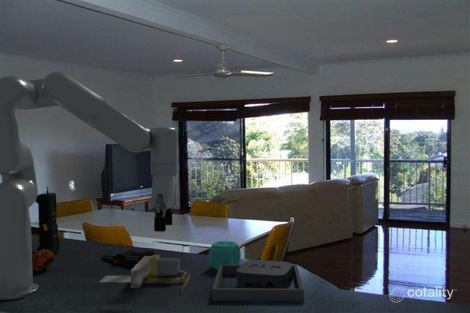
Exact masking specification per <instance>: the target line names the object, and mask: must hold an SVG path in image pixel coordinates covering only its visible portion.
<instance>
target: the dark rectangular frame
mask: <svg viewBox="0 0 470 313" xmlns="http://www.w3.org/2000/svg"><path fill="white" fill-rule="evenodd" d="M241 265H242V264H239V265H220V266H219V269H218V270H217V271H216V272H217V273H216V275H215V278H214V282H213V285H212V288H211V301H213V302H218V301H219V302H220V301H221V302H236V301H237V302H305V289H304V285H303V282H302V279H301V274H300V272H299V271H300V270H299V267H298V264H293V278H294V281H295V286H296V288H288V289H263V288H237V287H233V288H232V287H231V288H228V287H227V288H226V287H223V288H222V287H221V283H222V280H223V276H237V269H238V268H239V267H240V266H241Z"/></svg>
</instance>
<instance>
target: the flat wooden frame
mask: <svg viewBox="0 0 470 313" xmlns="http://www.w3.org/2000/svg"><path fill="white" fill-rule="evenodd" d="M150 257H151V256H144V257H143V258H142V259H141V260H140V261H139V262H138V264H137V265H136V266H133V268H132V269H130V275H105V276H104V277H103V278H101V279H100V281H98V283H130V288H131V289H140V288H141V287H142V286H143V284H183V285H182V287H181V288H180V291H179V294H182V293H183V292H184V290H185V288H186V285H187V283H188V281H189V280H190V277H191V272H188V270H180V278H151V273H150Z"/></svg>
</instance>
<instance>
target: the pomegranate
mask: <svg viewBox="0 0 470 313" xmlns="http://www.w3.org/2000/svg"><path fill="white" fill-rule="evenodd" d="M55 255H56V254H55ZM55 255H54V254H53V253H52V252H51V251H50V250H47V249H42V250H39V251H38V252H37V251H34V250H32V271H35V272H37V273H41V272H42V271H45V270H46V269H49V270H51V271H52V272H53V271H54V270H53V269H52V267H50V266H51V264H52V263H53V262H54V261H55V257H56V256H55Z"/></svg>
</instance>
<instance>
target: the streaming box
mask: <svg viewBox="0 0 470 313" xmlns="http://www.w3.org/2000/svg"><path fill="white" fill-rule="evenodd" d="M240 265H241V266H240V267H239V268H238V269H237V275H236V288H263V289H289V287H290V285H291V284H292V283H293V278H294V275H293V265H294V264H293V263H291V262H290V261H278V260H264V259H263V260H262V259H249V260H245V261H244V262H243V263H242V264H240Z"/></svg>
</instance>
